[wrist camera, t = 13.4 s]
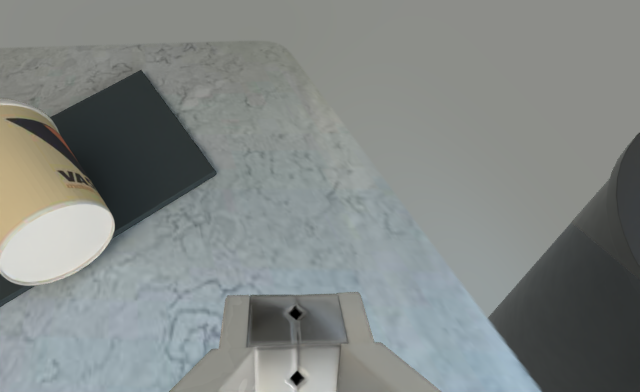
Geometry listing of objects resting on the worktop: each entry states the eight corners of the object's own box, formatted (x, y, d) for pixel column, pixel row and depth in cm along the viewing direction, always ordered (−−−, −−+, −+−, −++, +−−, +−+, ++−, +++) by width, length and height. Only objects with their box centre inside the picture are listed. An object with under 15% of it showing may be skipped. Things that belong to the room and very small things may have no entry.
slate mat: (143, 74, 46) (141, 69, 45) (217, 174, 39) (215, 170, 38) (-51, 176, 41) (-57, 172, 41) (-10, 312, 34) (-15, 310, 33)
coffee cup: (98, 171, 29) (18, 73, 33) (-54, 259, 25) (-121, 136, 30) (141, 236, 37) (72, 150, 41) (30, 311, 33) (-33, 208, 37)
